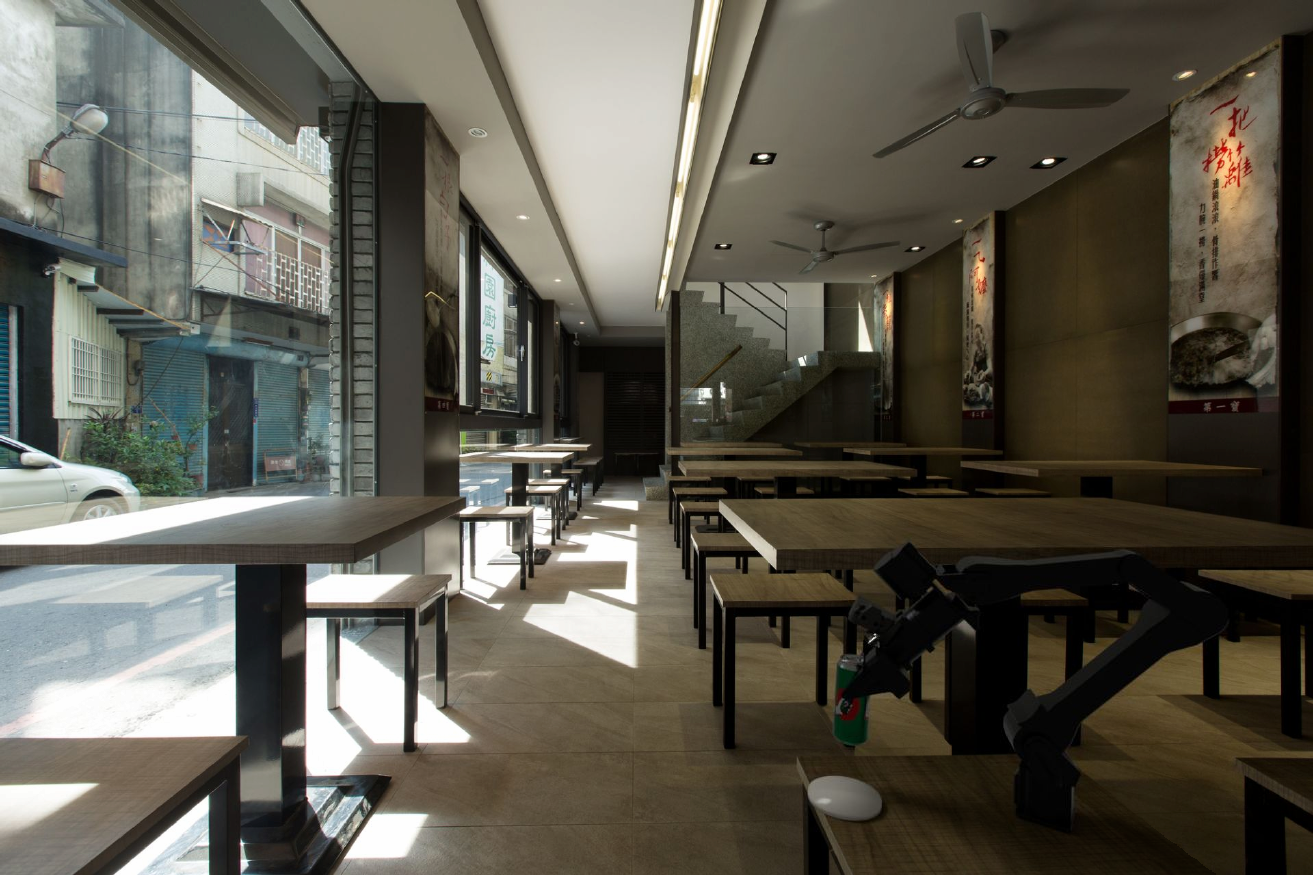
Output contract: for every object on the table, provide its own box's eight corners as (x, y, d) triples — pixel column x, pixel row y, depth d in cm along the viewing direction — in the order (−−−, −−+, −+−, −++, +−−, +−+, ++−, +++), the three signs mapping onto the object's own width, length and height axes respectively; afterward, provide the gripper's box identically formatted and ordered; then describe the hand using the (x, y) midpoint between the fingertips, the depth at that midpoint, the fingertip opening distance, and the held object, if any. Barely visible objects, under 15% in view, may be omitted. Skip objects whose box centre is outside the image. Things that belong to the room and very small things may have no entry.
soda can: (872, 748, 96) (877, 666, 95) (836, 746, 96) (842, 664, 95) (861, 732, 101) (867, 654, 100) (828, 730, 101) (833, 651, 101)
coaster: (891, 797, 94) (891, 791, 94) (867, 830, 86) (867, 824, 86) (824, 774, 100) (824, 768, 100) (796, 803, 92) (796, 797, 92)
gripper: (881, 568, 106) (809, 630, 109) (884, 596, 88) (798, 669, 91) (933, 622, 103) (858, 684, 107) (948, 662, 86) (857, 734, 89)
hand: (843, 690), depth 98 cm, fingers closed on soda can, 5 cm apart
